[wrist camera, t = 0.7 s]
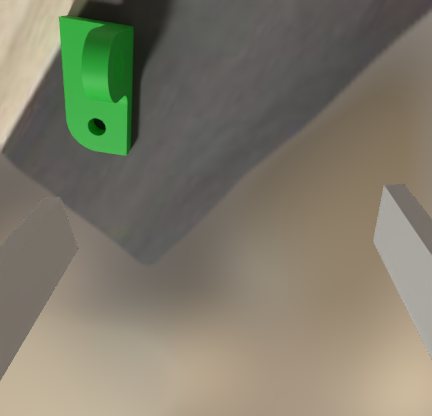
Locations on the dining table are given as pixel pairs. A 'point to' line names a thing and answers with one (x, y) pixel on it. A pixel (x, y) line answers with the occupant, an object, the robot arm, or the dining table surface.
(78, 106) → the mechanical part
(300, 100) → the dining table surface
